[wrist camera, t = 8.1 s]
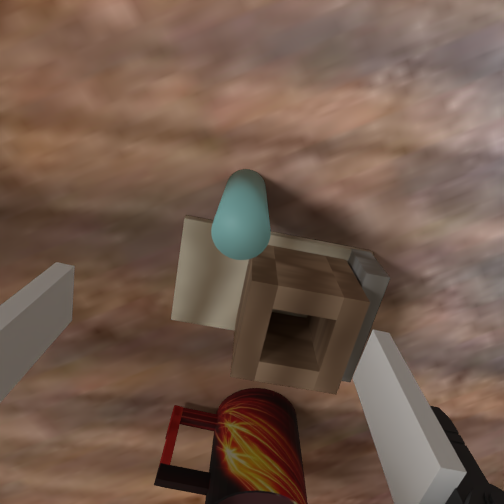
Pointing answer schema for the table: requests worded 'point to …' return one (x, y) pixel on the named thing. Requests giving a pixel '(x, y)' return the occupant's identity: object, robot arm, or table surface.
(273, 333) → the block
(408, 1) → the table surface
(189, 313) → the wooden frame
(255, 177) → the dowel
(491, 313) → the table surface
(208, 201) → the table surface
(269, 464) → the mug
